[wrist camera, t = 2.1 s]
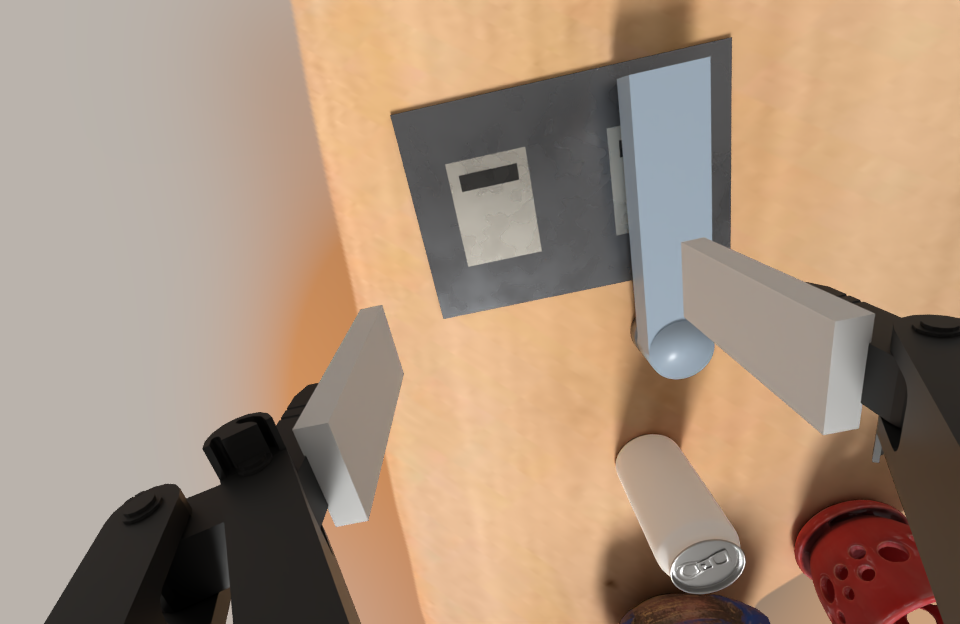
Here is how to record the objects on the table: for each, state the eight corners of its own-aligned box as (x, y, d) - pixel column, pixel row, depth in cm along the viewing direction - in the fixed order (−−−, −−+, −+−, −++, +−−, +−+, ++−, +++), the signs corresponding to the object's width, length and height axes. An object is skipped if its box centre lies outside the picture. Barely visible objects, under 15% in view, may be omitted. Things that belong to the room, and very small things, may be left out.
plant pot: (915, 480, 47) (1056, 589, 35) (879, 569, 52) (993, 689, 40) (790, 488, 46) (893, 601, 35) (766, 577, 51) (850, 700, 40)
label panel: (730, 37, 31) (732, 37, 30) (728, 259, 37) (730, 259, 36) (390, 115, 32) (390, 115, 32) (443, 318, 38) (443, 319, 38)
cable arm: (690, 62, 30) (712, 56, 27) (697, 356, 38) (714, 372, 36) (615, 79, 30) (630, 74, 27) (639, 367, 38) (652, 384, 36)
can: (603, 450, 44) (650, 559, 33) (664, 420, 43) (735, 523, 32) (629, 493, 46) (683, 609, 35) (688, 466, 45) (763, 577, 34)
